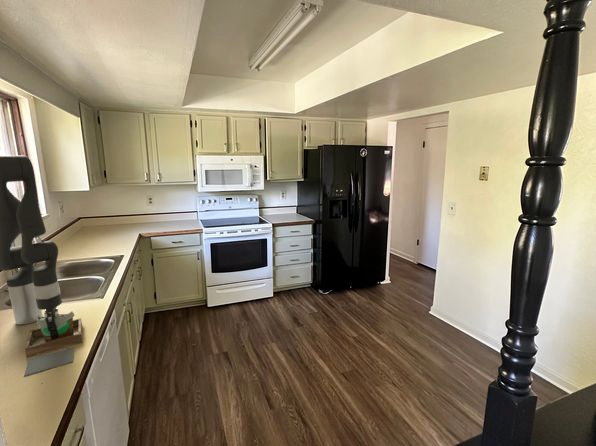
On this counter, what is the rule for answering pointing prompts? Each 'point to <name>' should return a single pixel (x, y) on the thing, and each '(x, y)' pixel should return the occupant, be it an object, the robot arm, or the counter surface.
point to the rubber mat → (49, 361)
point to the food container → (63, 325)
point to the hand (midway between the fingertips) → (55, 334)
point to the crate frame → (52, 344)
